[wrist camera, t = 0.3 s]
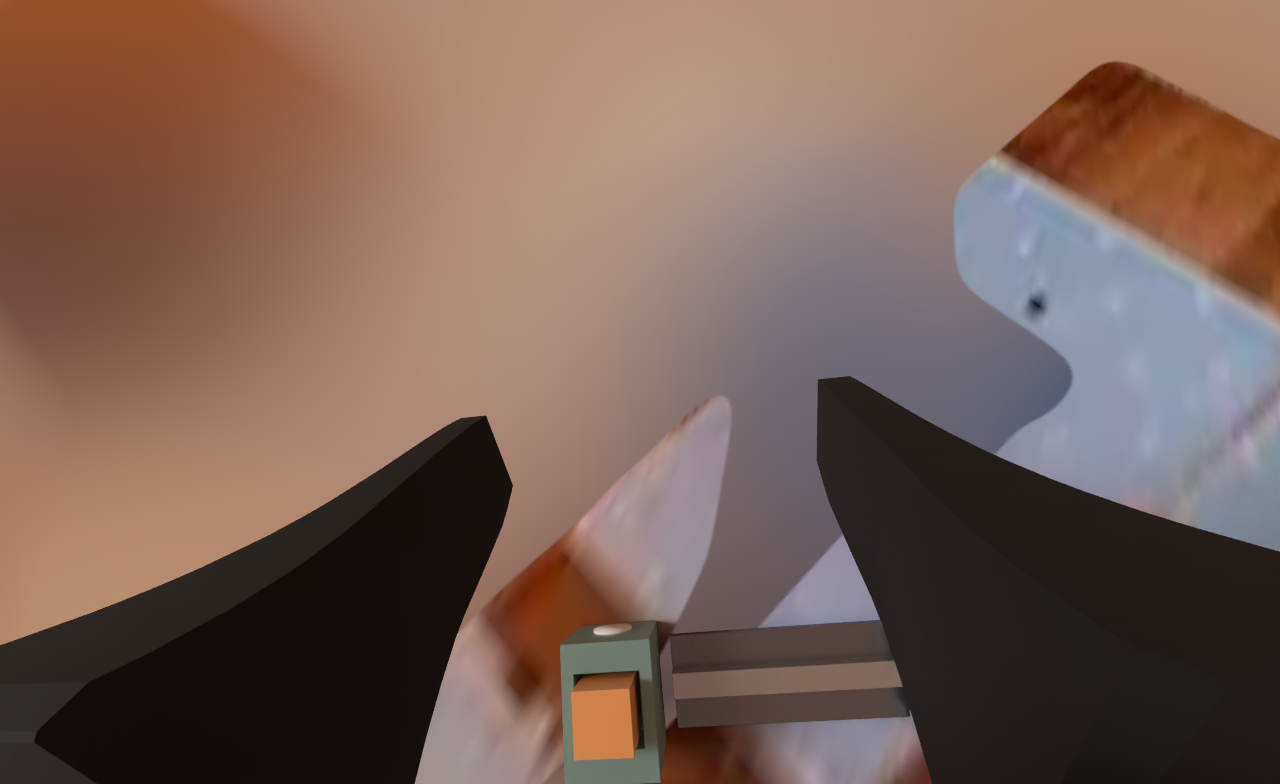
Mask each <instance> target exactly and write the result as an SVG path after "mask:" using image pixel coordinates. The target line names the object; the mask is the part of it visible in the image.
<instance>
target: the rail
mask: <svg viewBox="0 0 1280 784" xmlns="http://www.w3.org/2000/svg"><path fill="white" fill-rule="evenodd" d="M670 643H671V654H672V664H673V671H672V678H673V690H674V699H676V709H677V720H678V728H684V727H704V726H724V725H745V724H765V723H786V722H806V721H827V720H847V719H868V718H888V717H908V716H911V715H910V711H909V710H910V708H909V705H908V702H907V699H906V696H905V692H904V689H903V686H902V683H901V680H900V676H899V673H898V670H897V667H896V664H895V661H894V658H893V655H892V652H891V649H890V646H889V643H888V640H887V637H886V634H885V631H884V628H883V625H882V622H881V620H875V621H859V622H844V623H829V624H814V625H799V626H784V627H769V628H754V629H740V630H724V631H710V632H694V633H679V634H670Z"/></svg>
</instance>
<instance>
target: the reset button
mask: <svg viewBox="0 0 1280 784" xmlns="http://www.w3.org/2000/svg"><path fill="white" fill-rule="evenodd" d="M571 700H572V726H573V751H574V761H576V760H599V759H622V758H634V756H635V752H636V749H637V745H638V741H639V737H640V733H641V729H640V715H639V702H638V688H637V674H636V671H630V672H613V673H597V674H584V675H583V676H582V678H581V679H580V681H579V682H578V683H577V685H576V686H575V687H574V689H573V690H572V691H571Z"/></svg>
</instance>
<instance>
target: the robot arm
mask: <svg viewBox="0 0 1280 784" xmlns="http://www.w3.org/2000/svg"><path fill="white" fill-rule="evenodd" d="M817 412H818V413H817V462H818V466H819V470H820V473H821V477H822V480H823V484H824V487H825V490H826V493H827V497H828V500H829V503H830V505H831V507H832V510H833V512H834V514H835V517H836V519H837V521H838V523H839V526H840V528H841V530H842V533H843V535H844V537H845V539H846V542H847V544H848V546H849V548H850V551H851V553H852V555H853V557H854V559H855V562H856V564H857V566H858V568H859V571H860V573H861V575H862V577H863V580H864V582H865V584H866V586H867V588H868V591H869V593H870V595H871V597H872V600H873V602H874V605H875V607H876V610H877V612H878V615H879V617H880V620H881V622H882V625H883V628H884V631H885V634H886V637H887V640H888V643H889V646H890V649H891V652H892V655H893V658H894V661H895V664H896V667H897V670H898V673H899V676H900V680H901V683H902V686H903V689H904V692H905V696H906V699H907V702H908V705H909V708H910V711H911V715H912V718H913V721H914V724H915V727H916V730H917V734H918V737H919V740H920V743H921V747H922V750H923V754H924V757H925V760H926V764H927V767H928V770H929V774H930V777H931V781H932V784H1280V552H1279V551H1275V550H1272V549H1268V548H1264V547H1261V546H1257V545H1254V544H1250V543H1247V542H1243V541H1240V540H1236V539H1233V538H1229V537H1226V536H1222V535H1219V534H1215V533H1212V532H1208V531H1205V530H1201V529H1198V528H1194V527H1191V526H1187V525H1184V524H1181V523H1178V522H1174V521H1171V520H1168V519H1165V518H1162V517H1158V516H1155V515H1152V514H1149V513H1146V512H1142V511H1139V510H1137V509H1134V508H1131V507H1128V506H1125V505H1122V504H1119V503H1116V502H1113V501H1110V500H1108V499H1105V498H1102V497H1099V496H1096V495H1093V494H1090V493H1087V492H1084V491H1082V490H1079V489H1076V488H1074V487H1071V486H1068V485H1066V484H1063V483H1060V482H1058V481H1055V480H1052V479H1050V478H1047V477H1045V476H1043V475H1040V474H1038V473H1035V472H1033V471H1031V470H1028V469H1026V468H1023V467H1021V466H1019V465H1016V464H1014V463H1011V462H1009V461H1007V460H1004V459H1002V458H1000V457H998V456H996V455H993V454H991V453H989V452H987V451H985V450H983V449H981V448H979V447H977V446H975V445H972V444H971V443H969V442H966V441H965V440H963V439H960V438H959V437H957V436H955V435H952V434H950V433H949V432H947V431H945V430H943V429H941V428H939V427H937V426H935V425H934V424H932V423H930V422H928V421H926V420H925V419H923V418H921V417H919V416H917V415H916V414H914V413H912V412H910V411H909V410H907V409H905V408H904V407H902V406H900V405H898V404H897V403H895V402H893V401H892V400H890V399H888V398H886V397H885V396H883V395H882V394H880V393H878V392H877V391H875V390H873V389H872V388H870V387H868V386H867V385H865V384H863V383H862V382H859V381H858V380H856V379H854V378H852V377H850V376H847V377H837V378H828V379H819V380H818V410H817ZM512 487H513V485H512V482H511V479H510V477H509V474H508V472H507V469H506V467H505V464H504V461H503V459H502V456H501V453H500V451H499V448H498V446H497V443H496V440H495V438H494V435H493V433H492V430H491V427H490V425H489V423H488V420H487V417H486V416H477V417H468V418H461V419H459V420H457V421H455V422H453V423H451V424H449V425H447V426H446V427H444V428H443V429H441V430H439V431H437V432H436V433H434V434H433V435H431V436H430V437H428V438H427V439H425V440H424V441H422V442H421V443H419V444H418V445H416V446H415V447H413V448H412V449H410V450H409V451H407V452H406V453H404V454H403V455H401V456H400V457H398V458H397V459H395V460H394V461H392V462H391V463H389V464H388V465H386V466H385V467H383V468H382V469H380V470H379V471H377V472H376V473H374V474H372V475H371V476H369V477H368V478H366V479H364V480H363V481H361V482H360V483H358V484H357V485H355V486H353V487H352V488H350V489H349V490H347V491H345V492H344V493H343V494H341V495H339V496H338V497H336V498H334V499H333V500H331V501H330V502H328V503H326V504H324V505H323V506H321V507H319V508H318V509H316V510H314V511H312V512H311V513H309V514H307V515H306V516H304V517H302V518H300V519H298V520H296V521H294V522H293V523H291V524H289V525H287V526H285V527H283V528H281V529H279V530H278V531H276V532H274V533H272V534H270V535H268V536H266V537H264V538H262V539H260V540H258V541H256V542H254V543H252V544H250V545H248V546H246V547H243V548H242V549H240V550H237V551H235V552H233V553H231V554H229V555H227V556H225V557H223V558H220V559H218V560H216V561H214V562H212V563H210V564H208V565H206V566H204V567H202V568H199V569H197V570H195V571H193V572H190V573H188V574H186V575H183V576H181V577H179V578H176V579H174V580H172V581H169V582H167V583H165V584H162V585H160V586H158V587H156V588H153V589H151V590H148V591H146V592H143V593H140V594H138V595H135V596H133V597H131V598H128V599H126V600H123V601H121V602H118V603H116V604H113V605H111V606H108V607H105V608H103V609H100V610H97V611H95V612H92V613H90V614H87V615H84V616H81V617H78V618H76V619H73V620H70V621H67V622H65V623H62V624H59V625H56V626H53V627H51V628H48V629H45V630H42V631H39V632H37V633H34V634H31V635H28V636H26V637H23V638H20V639H17V640H14V641H12V642H9V643H6V644H3V645H0V784H415V780H416V776H417V772H418V768H419V764H420V760H421V756H422V752H423V748H424V744H425V740H426V736H427V732H428V729H429V725H430V722H431V718H432V715H433V711H434V708H435V704H436V700H437V697H438V693H439V690H440V686H441V683H442V680H443V677H444V673H445V670H446V667H447V664H448V661H449V658H450V654H451V651H452V648H453V645H454V642H455V639H456V636H457V633H458V631H459V628H460V625H461V623H462V620H463V617H464V615H465V613H466V610H467V608H468V606H469V603H470V601H471V599H472V596H473V594H474V592H475V589H476V587H477V585H478V582H479V580H480V578H481V575H482V573H483V571H484V569H485V566H486V564H487V562H488V559H489V557H490V554H491V552H492V550H493V547H494V545H495V543H496V540H497V538H498V535H499V533H500V530H501V528H502V525H503V522H504V518H505V515H506V512H507V508H508V504H509V500H510V496H511V492H512Z"/></svg>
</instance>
